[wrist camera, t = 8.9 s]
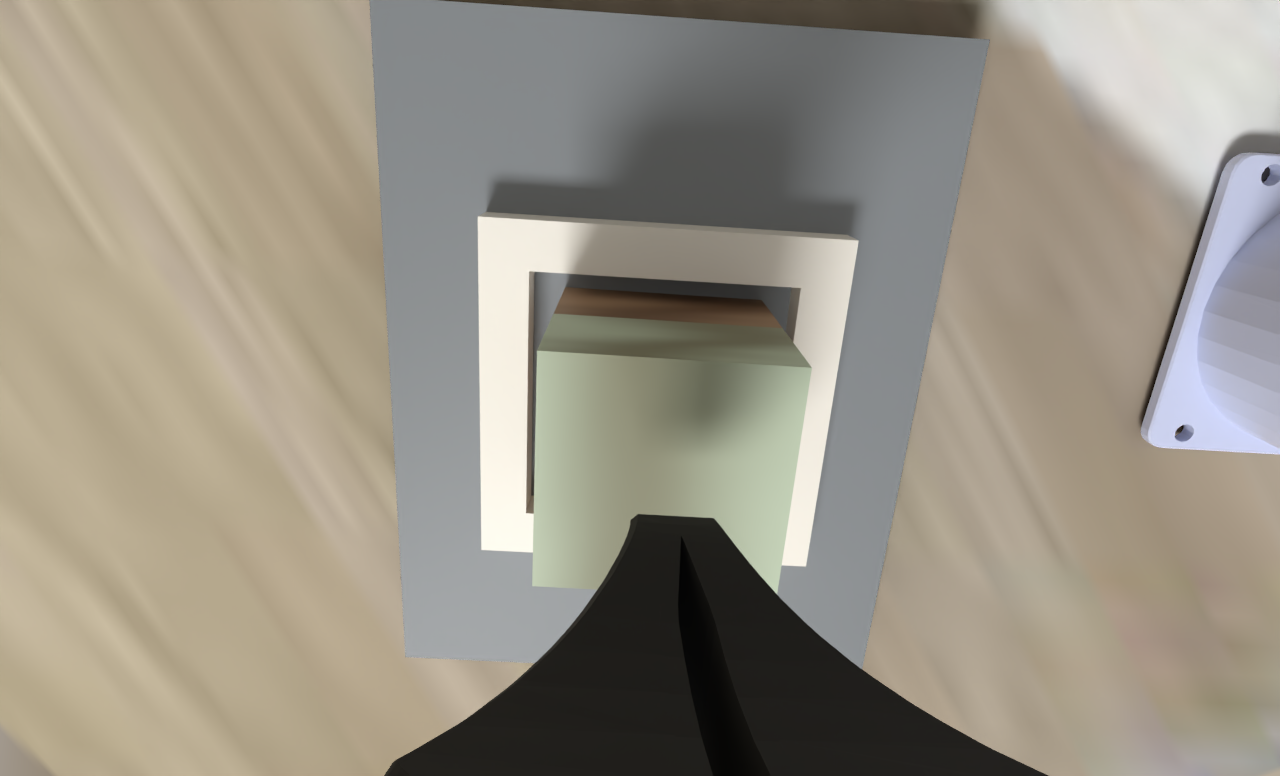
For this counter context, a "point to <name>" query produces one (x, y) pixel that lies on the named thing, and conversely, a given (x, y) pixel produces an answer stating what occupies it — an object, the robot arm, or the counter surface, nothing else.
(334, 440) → the counter surface
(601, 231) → the pocket board
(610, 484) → the block stack
